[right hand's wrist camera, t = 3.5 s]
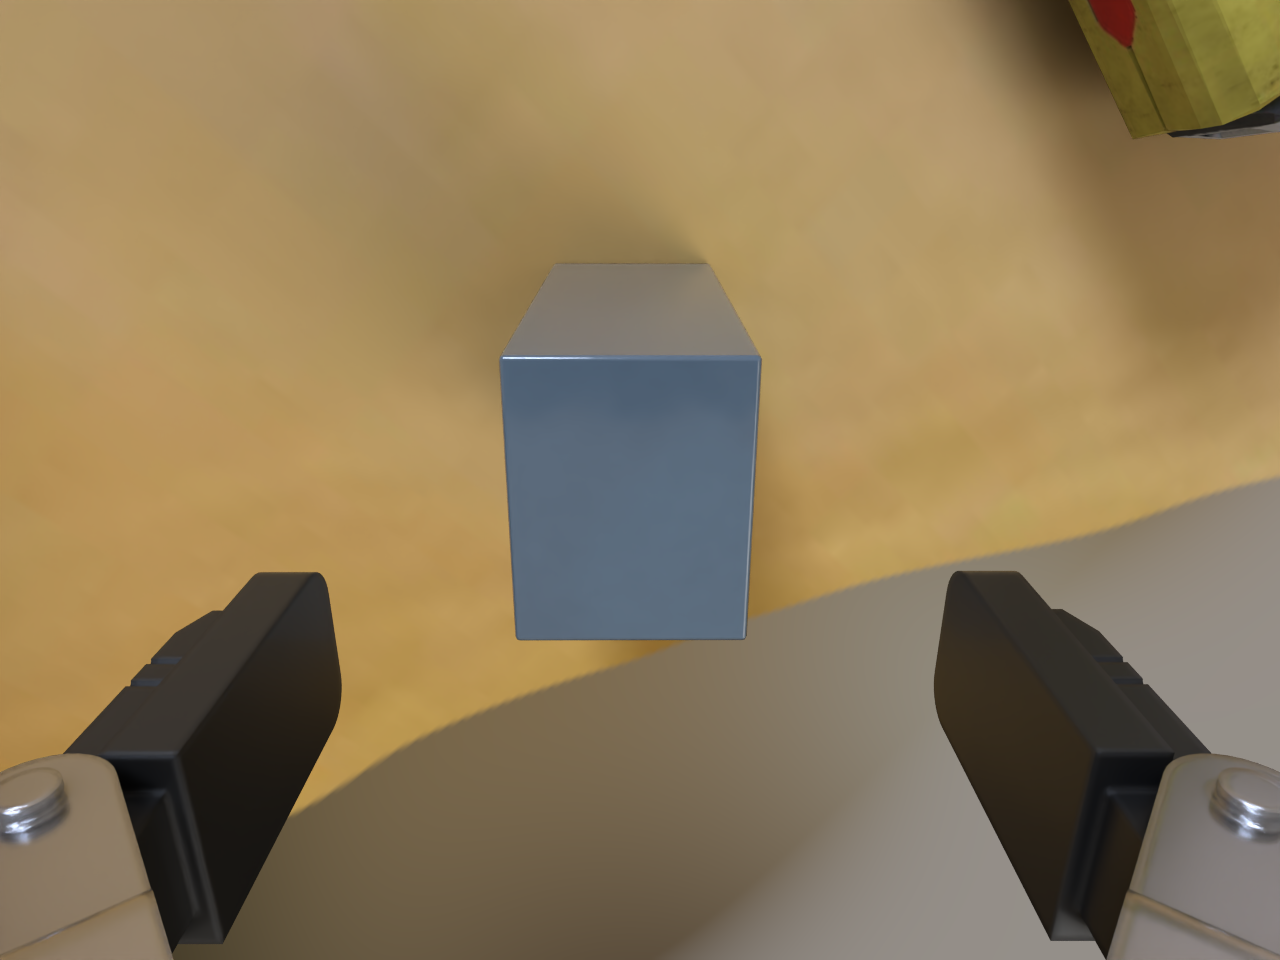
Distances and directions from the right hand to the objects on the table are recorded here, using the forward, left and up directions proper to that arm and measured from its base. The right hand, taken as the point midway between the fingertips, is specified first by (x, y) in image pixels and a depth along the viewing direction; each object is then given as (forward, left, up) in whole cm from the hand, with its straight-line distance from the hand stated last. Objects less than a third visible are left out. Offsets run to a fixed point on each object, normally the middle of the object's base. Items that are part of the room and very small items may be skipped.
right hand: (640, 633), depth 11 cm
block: (0, 0, -14) cm, 14 cm away
